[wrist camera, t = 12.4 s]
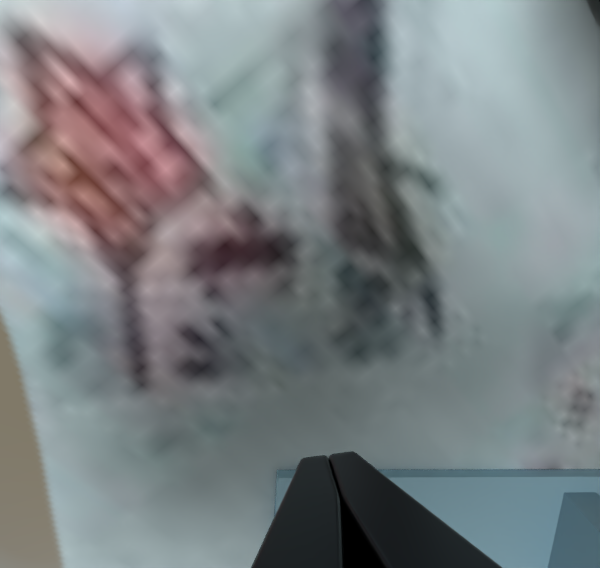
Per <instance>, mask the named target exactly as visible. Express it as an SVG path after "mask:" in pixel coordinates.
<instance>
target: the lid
mask: <svg viewBox="0 0 600 568" xmlns="http://www.w3.org/2000/svg"><path fill="white" fill-rule="evenodd" d="M295 471H296V470H277V479H276V495H275V512H274V517H275V515H276V513H277V510H278V508H279V506H280V504H281V502H282V500H283V497H284V495H285V493H286V491H287V489H288V487H289V484H290V482H291V480H292V478H293V476H294V474H295ZM378 471H380V472H381V473H382V474H383V475H385V476H386V477H387V478H389V479H390V480H391V481H392V482H394V483H395V484H396V485H398V486H399V487H400V488H401V489H403V490H404V491H405V492H406V493H408V494H409V495H410V496H412V497H413V498H414V499H415V500H417V501H418V502H419V503H421V504H422V505H423V506H424V507H426V508H427V509H428V510H429V511H431V512H432V513H433V514H435V515H436V516H437V517H438V518H440V519H441V520H442V521H444V522H445V523H446V524H447V525H449V526H450V527H451V528H452V529H454V530H455V531H456V532H458V533H459V534H460V535H461V536H463V537H464V538H465V539H467V540H468V541H469V542H470V543H472V544H473V545H474V546H475V547H477V548H478V549H479V550H481V551H482V552H483V553H484V554H486V555H487V556H488V557H490V558H491V559H492V560H493V561H495V562H496V563H497V564H498V565H500V566H501V567H502V568H600V469H500V470H378Z"/></svg>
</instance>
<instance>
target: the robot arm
mask: <svg viewBox="0 0 600 568" xmlns="http://www.w3.org/2000/svg"><path fill="white" fill-rule="evenodd" d="M599 1H600V0H599ZM251 568H502V567H501V566H500V565H498V564H497V563H496V562H495V561H493V560H492V559H491V558H490V557H488V556H487V555H486V554H484V553H483V552H482V551H481V550H479V549H478V548H477V547H475V546H474V545H473V544H472V543H470V542H469V541H468V540H467V539H465V538H464V537H463V536H461V535H460V534H459V533H458V532H456V531H455V530H454V529H452V528H451V527H450V526H449V525H447V524H446V523H445V522H444V521H442V520H441V519H440V518H438V517H437V516H436V515H435V514H433V513H432V512H431V511H429V510H428V509H427V508H426V507H424V506H423V505H422V504H421V503H419V502H418V501H417V500H415V499H414V498H413V497H412V496H410V495H409V494H408V493H406V492H405V491H404V490H403V489H401V488H400V487H399V486H398V485H396V484H395V483H394V482H392V481H391V480H390V479H389V478H387V477H386V476H385V475H383V474H382V473H381V472H380V471H378V470H377V469H376V468H375V467H373V466H372V465H371V464H369V463H368V462H367V461H366V460H364V459H363V458H362V457H360V456H359V455H358V454H357V453H355V452H344V453H337V454H332V455H330V456H329V459H328V458H327V456H324V455H322V456H314V457H306V458H303V459H302V460H301V461H300V463H299V465H298V467H297V469H296V471H295V474H294V476H293V478H292V480H291V482H290V484H289V487H288V489H287V491H286V493H285V495H284V497H283V500H282V502H281V504H280V506H279V508H278V510H277V513H276V515H275V517H274V519H273V521H272V523H271V526H270V528H269V530H268V532H267V534H266V537H265V539H264V541H263V543H262V545H261V547H260V550H259V552H258V554H257V556H256V558H255V560H254V563H253V565H252V567H251Z"/></svg>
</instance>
